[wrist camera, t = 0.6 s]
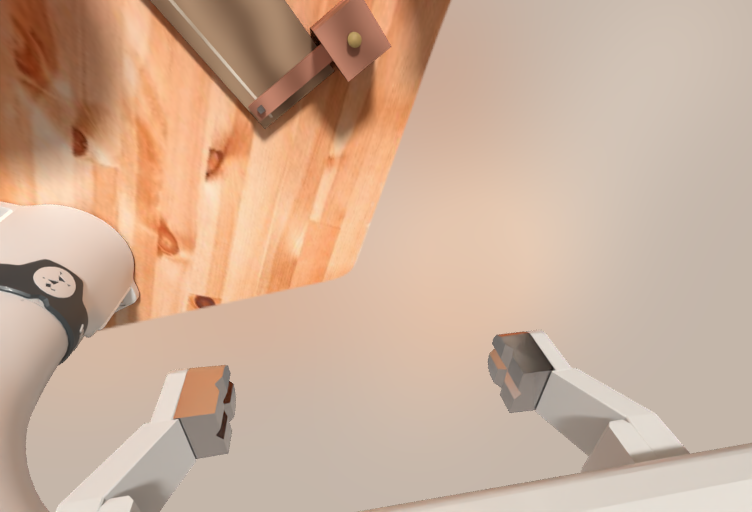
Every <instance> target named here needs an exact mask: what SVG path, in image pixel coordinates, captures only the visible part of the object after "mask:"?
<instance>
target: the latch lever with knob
mask: <svg viewBox="0 0 752 512" xmlns="http://www.w3.org/2000/svg"><path fill="white" fill-rule="evenodd" d="M311 30H312V31H313V33H314V34H315V36H316V37H317V38H318V40H319V41H320V43H321V44H320V45H319V46H318V47H316V48H315V49H314V50H313V51H312V52H311V53H309V54H308V55H307V56H306V57H305V58H304V59H302V60H301V61H300V62H299V63H298V64H297V65H295V66H294V67H293V68H292V69H291V70H290V71H288V72H287V73H286V74H285V75H284V76H283V77H281V78H280V79H279V80H278V81H277V82H276V83H274V84H273V85H272V86H271V87H270V88H269V89H267V90H266V91H265V92H264V93H263V94H262V95H260V96H259V97H258V98H257V99H256V100H255V101H253V102H252V103H251V104H250V105H249V107H248V108H249V109H250V110H251V112H252V113H253V114H254V115H255V116H256V117H257V118H258V119H259V121H260V122H261V121H262V120H263V119H264V118H265V117H266V116H268V115H269V114H270V113H271V112H272V111H274V110H275V109H276V108H277V107H278V106H280V105H281V104H282V103H283V102H284V101H286V100H287V99H288V98H289V97H290V96H291V95H293V94H294V93H295V92H296V91H297V90H299V89H300V88H301V87H302V86H303V85H305V84H306V83H307V82H308V81H309V80H310V79H312V78H313V77H314V76H315V75H316V74H318V73H319V72H320V71H321V70H322V69H324V68H325V67H326V66H327V65H328V64H329V63H331V62H332V61H333V62H334V63H335V64H336V66H337V67H338V69H339V70H340V71H341V73H342V74H343V75H344V77H345V78H346V79H347V80H348V82H349V81H350V80H351V79H352V78H354V77H355V76H356V75H357V74H359V73H360V72H361V71H362V70H363V69H365V68H366V67H367V66H368V65H370V64H371V63H372V62H373V61H374V60H376V59H377V58H378V57H379V56H381V55H382V54H383V53H384V52H385V51H387V50H388V49H389V48H390V47H391V45H390V43H389V42H388V40H387V38H386V36H385V35H384V33H383V31H382V30H381V28H380V26H379V25H378V23H377V21H376V19H375V18H374V16H373V14H372V13H371V11H370V9H369V8H368V6H367V4H366V3H365V1H364V0H342V1H340V2H339V3H338V4H337V5H336V6H335V7H334V8H332V9H331V10H330V11H329V12H328V13H327V14H326V15H324V16H323V17H322V18H321V19H320V20H319V21H318V22H316V23H315V24H314V25H313V26H312V27H311Z"/></svg>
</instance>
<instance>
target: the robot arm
mask: <svg viewBox="0 0 752 512" xmlns="http://www.w3.org/2000/svg"><path fill="white" fill-rule="evenodd" d="M133 273H134V260H133V256H132V253H131V250H130V248H129V246H128V245H127V243H126V242H125V240H124V239H123V238H122V236H121V235H120V234H119V233H118V232H117V231H116V230H115V229H114V228H112V227H111V226H110V225H109V224H107V223H106V222H104V221H103V220H101V219H99V218H98V217H96V216H94V215H92V214H89V213H87V212H85V211H82V210H79V209H76V208H72V207H67V206H62V205H52V204H44V205H32V206H20V205H16V204H11V203H6V202H0V512H49V511H48V510H47V508H46V507H45V506H44V504H43V503H42V501H41V500H40V498H39V496H38V494H37V492H36V490H35V488H34V485H33V483H32V480H31V477H30V474H29V470H28V466H27V458H26V433H27V426H28V423H29V420H30V417H31V414H32V412H33V410H34V408H35V405H36V404H37V401H38V399H39V397H40V395H41V393H42V392H43V390H44V388H45V386H46V384H47V383H48V381H49V379H50V377H51V376H52V374H53V372H54V371H55V369H56V368H57V366H58V365H60V364H61V363H63V362H64V361H65V360H66V359H67V358H68V357H69V356H70V354H71V353H72V352H73V351H74V350H75V349H76V348H77V346H78V344H79V343H80V341H81V340H82V339H83V337H84V336H86V337H91V336H92V335H94V334H95V333H96V331H97V330H101V329H103V328H104V327H105V325H106V324H107V323H108V321H109V320H110V318H111V317H112V315H113V314H114V313H115V312H117V311H119V310H121V309H123V308H125V307H127V306H129V305H131V304H133V303H135V302H136V300H137V299H138V298H139V291H138V288H137V286H136V284H135V282H134V279H133ZM492 344H493V346H494V348H495V349H494V350H493V351H492V352H490V354H489V358H488V369H489V372H490V376H491V378H492V380H493V382H494V383H495V384H497V385H498V386H499V387H501V388H502V389H501V393H500V396H501V397H502V399H503V401H504V403H505V405H506V407H507V409H508V411H509V413H514V412H523V411H532V410H536V412H537V413H538V414H539V415H540V416H541V417H542V418H544V419H545V420H546V421H547V422H548V423H550V424H551V425H552V426H553V427H554V428H556V429H557V430H558V431H559V432H560V433H562V434H563V435H564V436H565V437H566V438H568V439H569V440H570V441H571V442H572V443H574V444H575V445H576V446H577V447H578V448H579V449H581V450H582V451H583V452H585V454H587V455H588V456H589V457H588V459H587V461H586V462H585V464H584V466H583V467H582V470H581V473H577V474H571V475H565V476H559V477H553V478H548V479H542V480H536V481H531V482H525V483H519V484H513V485H508V486H502V487H497V488H490V489H485V490H480V491H473V492H467V493H462V494H456V495H450V496H444V497H439V498H433V499H427V500H421V501H416V502H410V503H404V504H398V505H393V506H387V507H381V508H376V509H370V510H364V511H358V512H752V443H748V444H743V445H737V446H731V447H725V448H720V449H714V450H709V451H703V452H697V453H692V454H690V453H689V452H688V451H687V450H686V448H685V447H684V446H683V445H682V444H681V442H680V441H679V440H678V439H677V438H676V437H675V435H674V434H673V433H672V432H671V431H670V430H669V429H668V428H667V426H666V425H665V424H664V423H663V422H662V421H661V419H660V418H659V417H658V416H657V415H656V414H655V413H654V412H652V411H650V410H648V409H647V408H645V407H643V406H642V405H640V404H638V403H636V402H635V401H633V400H631V399H629V398H628V397H626V396H624V395H622V394H621V393H619V392H617V391H615V390H614V389H612V388H610V387H608V386H607V385H605V384H603V383H602V382H600V381H598V380H596V379H595V378H593V377H591V376H589V375H588V374H586V373H584V372H583V371H581V370H579V369H577V368H571V366H570V365H569V364H568V362H567V361H566V360H565V358H564V357H563V356H562V354H561V353H560V352H559V350H558V349H557V348H556V347H555V345H554V344H553V343H552V341H551V340H550V338H549V337H548V336H547V335H546V333H545V332H544V331H542V330H534V331H526V332H516V333H508V334H499V335H496V336H495V337H494V339H493V342H492ZM229 379H230V371H229V367H228V366H227V365H221V366H210V367H198V368H189V369H179V370H171V371H170V372H169V373H168V374H167V376H166V379H165V382H164V384H163V387H162V390H161V393H160V396H159V399H158V402H157V404H156V407H155V410H154V413H153V416H152V418H151V421H150V423H144V424H143V425H142V426H141V427H140V428H139V429H138V430H137V431H136V432H135V433H134V434H133V435H131V436H130V437H129V438H128V439H127V440H126V441H125V442H124V443H123V444H122V445H121V446H120V447H119V448H118V449H117V450H116V451H115V452H114V453H113V454H111V456H109V457H108V458H107V459H106V460H105V461H104V462H103V463H102V464H101V465H100V466H99V467H98V468H97V469H96V470H95V471H94V472H93V473H92V474H91V475H89V476H88V477H87V478H86V479H85V480H84V481H83V482H82V483H81V484H80V485H79V486H78V487H77V488H76V489H75V490H74V491H73V492H72V493H71V494H69V495H68V496H67V497H66V498H65V499H64V500H63V501H62V502H61V503H60V504H59V506H58V508H57V510H56V512H160V510H161V509H162V507H163V506H164V505H165V503H166V502H167V501H168V499H169V498H170V496H171V495H172V493H173V492H174V491H175V489H176V488H177V487H178V485H179V484H180V483H181V481H182V480H183V478H184V477H185V476H186V474H187V473H188V472H189V470H190V469H191V467H192V466H193V465H194V463H195V462H196V459H198V458H204V457H210V456H216V455H222V454H228V452H229V447H230V441H231V434H232V429H231V426H230V423H229V422H230V421H231V420H232V418H233V417H234V415H235V407H236V396H235V388H234V384H233V383H232V382H230V381H229Z"/></svg>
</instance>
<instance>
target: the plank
mask: <svg viewBox="0 0 752 512" xmlns="http://www.w3.org/2000/svg"><path fill="white" fill-rule="evenodd" d="M150 1H151V2H152V3H153V4H154V5H155V6H156V8H157V9H158V10H159V11H160V12H161V13H162V14H163V15H164V17H165V18H166V19H167V20H168V21H169V22H170V23H171V24H172V26H173V27H174V28H175V29H176V30H177V31H178V32H179V33H180V34H181V36H182V37H183V38H184V39H185V40H186V41H187V42H188V43H189V45H190V46H191V47H192V48H193V49H194V50H195V51H196V52H197V54H198V55H199V56H200V57H201V58H202V59H203V60H204V61H205V62H206V64H207V65H208V66H209V67H210V68H211V69H212V70H213V71H214V73H215V74H216V75H217V76H218V77H219V78H220V79H221V80H222V82H223V83H224V84H225V85H226V86H227V87H228V88H229V89H230V90H231V92H232V93H233V94H234V95H235V96H236V97H237V98H238V99H239V101H240V102H241V103H242V104H243V105H244V106H245V107H246V108H247V110H248V111H249V112H250V113H251V114H252V115H253V116H254V117H255V119H256V120H257V121H258V122H259V123H260V124H261V125H262V126H263V127H264V129H266V128H267V127H268V126H269V125H271V124H272V123H273V122H274V121H275V120H277V119H278V118H279V117H280V116H281V115H283V114H284V113H285V112H286V111H287V110H289V109H290V108H291V107H292V106H293V105H295V104H296V103H297V102H298V101H299V100H301V99H302V98H303V97H304V96H305V95H307V94H308V93H309V92H310V91H311V90H313V89H314V88H315V87H316V86H317V85H319V84H320V83H321V82H322V81H323V80H325V79H326V78H327V77H328V76H329V75H331V74H332V73H333V72H334V70H333V68H332V67H331V65H330V64H328V65H327V66H326V67H325V68H324V69H322V70H321V71H320V72H319V73H318V74H316V75H315V76H314V77H313V78H312V79H310V80H309V81H308V82H307V83H306V84H305V85H303V86H302V87H301V88H300V89H299V90H297V91H296V92H295V93H294V94H293V95H291V96H290V97H289V98H288V99H287V100H286V101H284V102H283V103H282V104H281V105H280V106H278V107H277V108H276V109H275V110H274V111H272V112H271V113H270V114H269V115H268V116H266V117H265V118H264V119H263V120H262V121H261V122H260V121H259V119H258V118H257V117H256V116H255V115H254V114H253V113H252V112H251V110H250V109H249V108H248V107H249V105H250V104H251V103H252V102H253V101H255V100H256V99H257V98H258V97H259V96H260V95H262V94H263V93H264V92H265V91H266V90H267V89H269V88H270V87H271V86H272V85H273V84H274V83H276V82H277V81H278V80H279V79H280V78H281V77H283V76H284V75H285V74H286V73H287V72H288V71H290V70H291V69H292V68H293V67H294V66H295V65H297V64H298V63H299V62H300V61H301V60H302V59H304V58H305V57H306V56H307V55H308V54H309V53H311V52H312V51H313V50H314V49H315V48H316V47H317V45H316V44H315V43H314V41H313V40H312V38H311V37H310V35H309V34H308V33H307V31H306V30H305V28H304V27H303V25H302V24H301V23H300V21H299V20H298V18H297V17H296V15H295V14H294V13H293V11H292V10H291V8H290V7H289V5H288V4H287V3H286V1H285V0H150Z"/></svg>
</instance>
